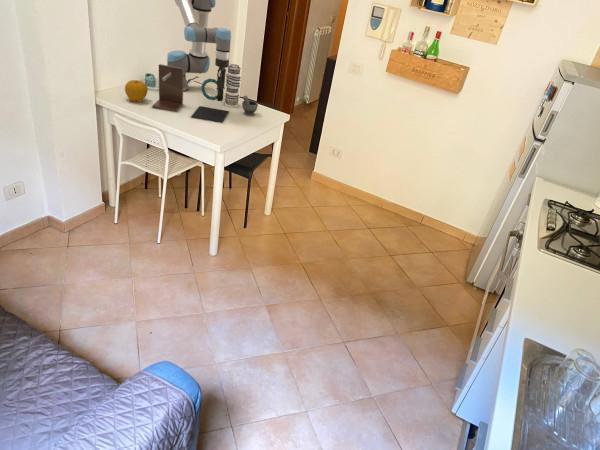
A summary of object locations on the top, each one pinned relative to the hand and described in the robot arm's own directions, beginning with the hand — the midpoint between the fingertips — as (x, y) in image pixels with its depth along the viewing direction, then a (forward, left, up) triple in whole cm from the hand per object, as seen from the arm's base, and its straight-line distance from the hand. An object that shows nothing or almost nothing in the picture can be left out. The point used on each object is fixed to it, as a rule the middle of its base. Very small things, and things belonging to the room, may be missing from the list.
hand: (219, 100), depth 253 cm
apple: (-3, -50, -10) cm, 51 cm away
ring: (0, -5, +5) cm, 8 cm away
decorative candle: (-25, +3, -10) cm, 27 cm away
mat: (0, -5, -10) cm, 11 cm away
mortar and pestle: (-13, +16, -10) cm, 23 cm away
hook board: (-2, -31, -10) cm, 33 cm away
